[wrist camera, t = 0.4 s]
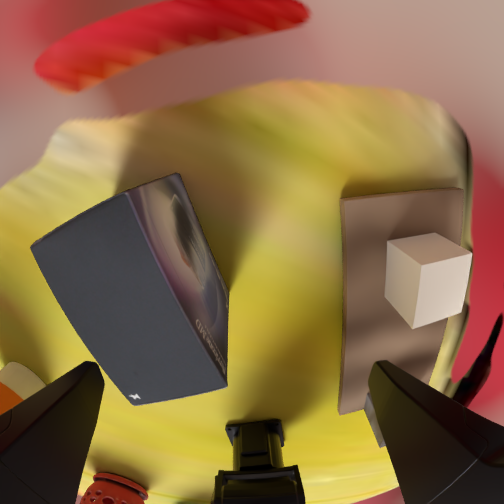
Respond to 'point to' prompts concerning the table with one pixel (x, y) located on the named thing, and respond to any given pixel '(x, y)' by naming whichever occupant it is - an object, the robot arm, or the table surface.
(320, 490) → the table surface
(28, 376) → the reusable coffee cup
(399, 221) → the walnut strip
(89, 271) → the small box
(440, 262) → the off-white block
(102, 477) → the plant pot
